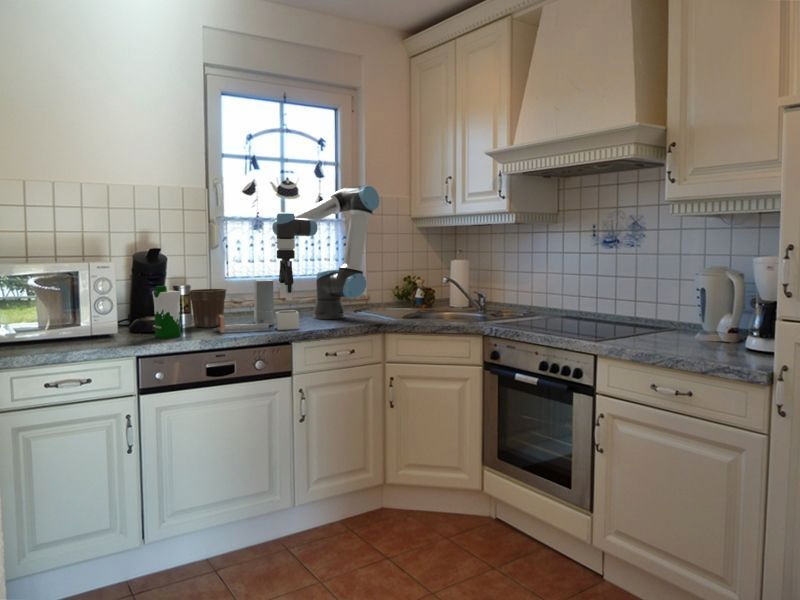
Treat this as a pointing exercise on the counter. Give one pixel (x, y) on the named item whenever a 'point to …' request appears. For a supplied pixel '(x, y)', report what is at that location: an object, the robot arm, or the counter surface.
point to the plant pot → (207, 306)
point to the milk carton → (166, 313)
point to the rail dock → (240, 327)
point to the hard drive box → (263, 301)
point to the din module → (287, 319)
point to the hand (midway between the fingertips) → (286, 299)
